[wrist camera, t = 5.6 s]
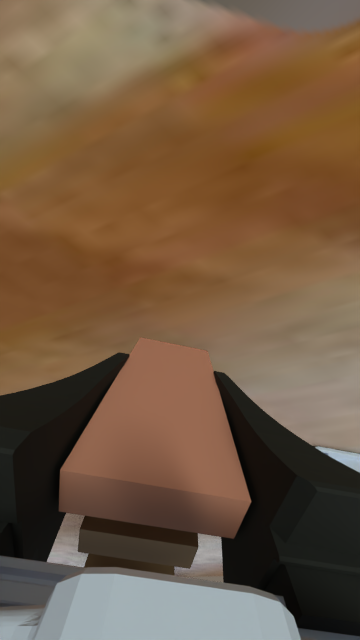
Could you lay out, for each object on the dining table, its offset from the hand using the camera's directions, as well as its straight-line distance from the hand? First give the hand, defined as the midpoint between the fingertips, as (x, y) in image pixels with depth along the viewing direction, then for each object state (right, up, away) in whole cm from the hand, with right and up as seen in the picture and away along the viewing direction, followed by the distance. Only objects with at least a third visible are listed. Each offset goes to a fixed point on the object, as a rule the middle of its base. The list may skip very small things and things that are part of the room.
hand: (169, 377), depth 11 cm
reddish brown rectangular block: (0, +1, +3) cm, 3 cm away
